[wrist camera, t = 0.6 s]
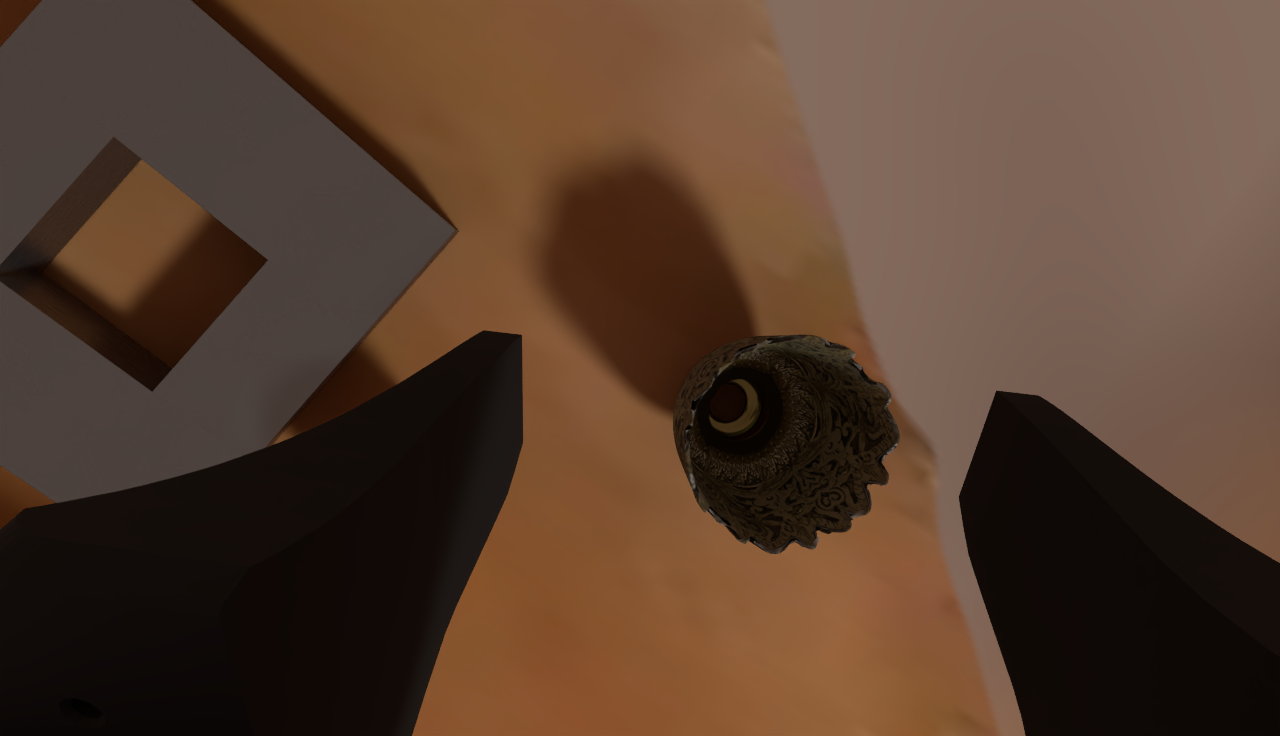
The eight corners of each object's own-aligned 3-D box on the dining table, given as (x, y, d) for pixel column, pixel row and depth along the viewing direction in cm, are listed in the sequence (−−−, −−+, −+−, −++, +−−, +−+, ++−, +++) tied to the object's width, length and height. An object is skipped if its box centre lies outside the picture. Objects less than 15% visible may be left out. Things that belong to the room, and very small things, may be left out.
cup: (605, 401, 34) (640, 448, 26) (732, 279, 34) (804, 288, 26) (721, 519, 35) (787, 596, 27) (841, 403, 36) (939, 446, 28)
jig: (188, 540, 31) (157, 570, 28) (-158, 303, 28) (-233, 310, 25) (458, 231, 31) (455, 229, 29) (146, -40, 28) (106, -73, 25)
